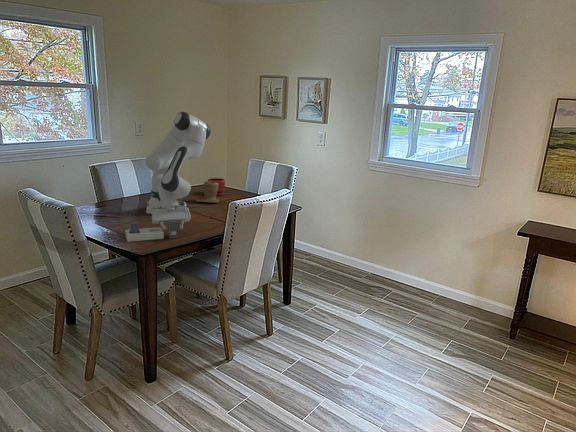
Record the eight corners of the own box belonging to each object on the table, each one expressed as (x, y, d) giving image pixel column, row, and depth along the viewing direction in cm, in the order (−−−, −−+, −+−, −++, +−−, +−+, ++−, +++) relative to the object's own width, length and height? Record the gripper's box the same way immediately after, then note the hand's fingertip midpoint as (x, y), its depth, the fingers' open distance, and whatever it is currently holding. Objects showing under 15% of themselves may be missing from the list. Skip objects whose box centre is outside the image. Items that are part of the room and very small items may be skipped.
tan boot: (220, 200, 313) (220, 180, 309) (217, 204, 302) (218, 183, 297) (199, 199, 312) (199, 179, 308) (196, 203, 301) (196, 182, 297)
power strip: (123, 230, 237) (122, 215, 234) (157, 227, 245) (157, 213, 242) (127, 241, 220) (127, 225, 218) (163, 238, 228) (163, 223, 226)
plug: (168, 236, 231) (168, 220, 229) (176, 236, 233) (176, 220, 231) (169, 238, 229) (169, 222, 226) (177, 238, 230) (177, 222, 228)
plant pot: (228, 194, 332) (228, 179, 329) (216, 197, 322) (217, 181, 318) (215, 191, 339) (215, 176, 336) (203, 194, 328) (203, 178, 325)
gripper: (150, 204, 228) (153, 227, 222) (188, 202, 237) (193, 224, 231) (149, 210, 233) (152, 233, 227) (186, 208, 242) (191, 230, 236)
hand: (173, 229), depth 229 cm, fingers open, 7 cm apart
